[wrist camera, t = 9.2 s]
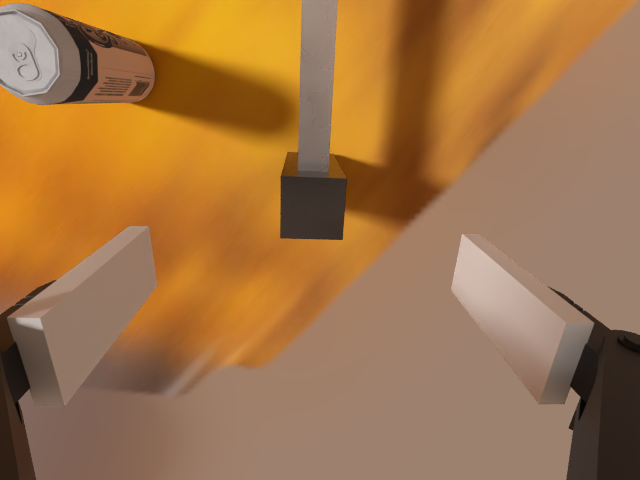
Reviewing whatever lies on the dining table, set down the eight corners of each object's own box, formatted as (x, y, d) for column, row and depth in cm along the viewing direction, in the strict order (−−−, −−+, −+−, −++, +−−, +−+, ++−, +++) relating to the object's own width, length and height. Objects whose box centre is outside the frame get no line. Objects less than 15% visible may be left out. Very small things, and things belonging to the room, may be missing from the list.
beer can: (147, 33, 28) (46, -9, 17) (165, 98, 30) (83, 98, 19) (86, 42, 28) (-54, 6, 17) (107, 106, 30) (-7, 111, 19)
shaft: (291, -151, 24) (284, -318, 15) (350, -146, 25) (382, -306, 15) (287, 197, 33) (280, 238, 23) (330, 198, 33) (342, 239, 24)
